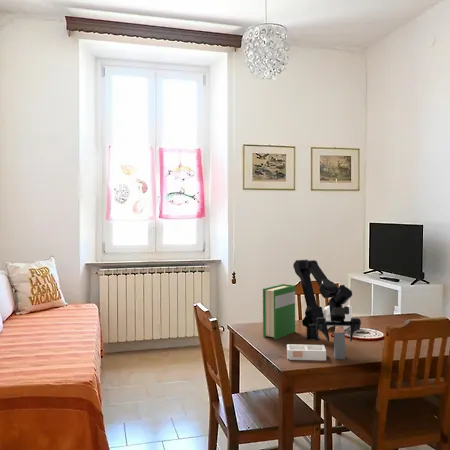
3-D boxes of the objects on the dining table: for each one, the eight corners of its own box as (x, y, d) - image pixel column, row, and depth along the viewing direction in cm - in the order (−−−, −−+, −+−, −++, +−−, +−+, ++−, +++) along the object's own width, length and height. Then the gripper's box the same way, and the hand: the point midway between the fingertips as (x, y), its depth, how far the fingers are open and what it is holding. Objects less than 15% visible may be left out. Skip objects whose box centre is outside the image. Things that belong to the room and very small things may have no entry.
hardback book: (275, 339, 228) (275, 290, 228) (263, 336, 233) (262, 288, 232) (295, 332, 242) (295, 285, 241) (283, 329, 247) (282, 283, 246)
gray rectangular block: (334, 356, 202) (334, 326, 202) (343, 356, 202) (343, 326, 202) (335, 359, 198) (335, 328, 198) (344, 359, 198) (344, 328, 198)
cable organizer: (334, 324, 258) (334, 302, 257) (353, 326, 251) (353, 305, 251) (323, 330, 245) (323, 307, 245) (342, 333, 239) (342, 310, 239)
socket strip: (286, 353, 207) (286, 344, 207) (324, 354, 205) (324, 345, 205) (287, 359, 198) (287, 350, 198) (326, 360, 196) (326, 351, 196)
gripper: (316, 299, 205) (318, 331, 194) (360, 299, 203) (365, 331, 192) (314, 313, 213) (316, 344, 202) (356, 313, 211) (361, 345, 200)
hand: (339, 341), depth 199 cm, fingers open, 9 cm apart
